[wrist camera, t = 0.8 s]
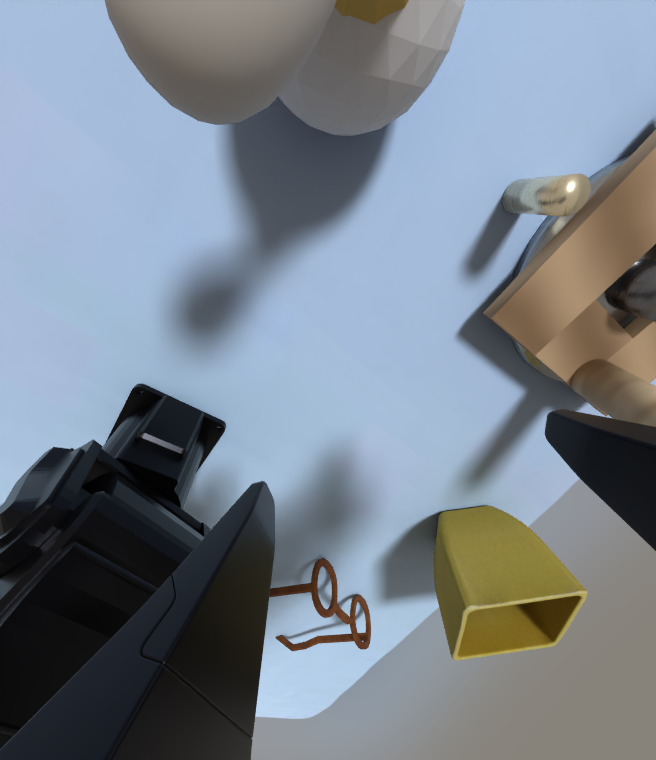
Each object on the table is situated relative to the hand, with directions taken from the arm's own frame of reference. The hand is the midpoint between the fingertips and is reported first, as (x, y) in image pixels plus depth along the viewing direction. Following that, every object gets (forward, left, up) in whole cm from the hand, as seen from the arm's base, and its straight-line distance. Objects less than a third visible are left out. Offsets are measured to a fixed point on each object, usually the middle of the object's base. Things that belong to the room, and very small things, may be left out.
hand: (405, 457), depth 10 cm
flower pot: (-10, -22, -12) cm, 27 cm away
